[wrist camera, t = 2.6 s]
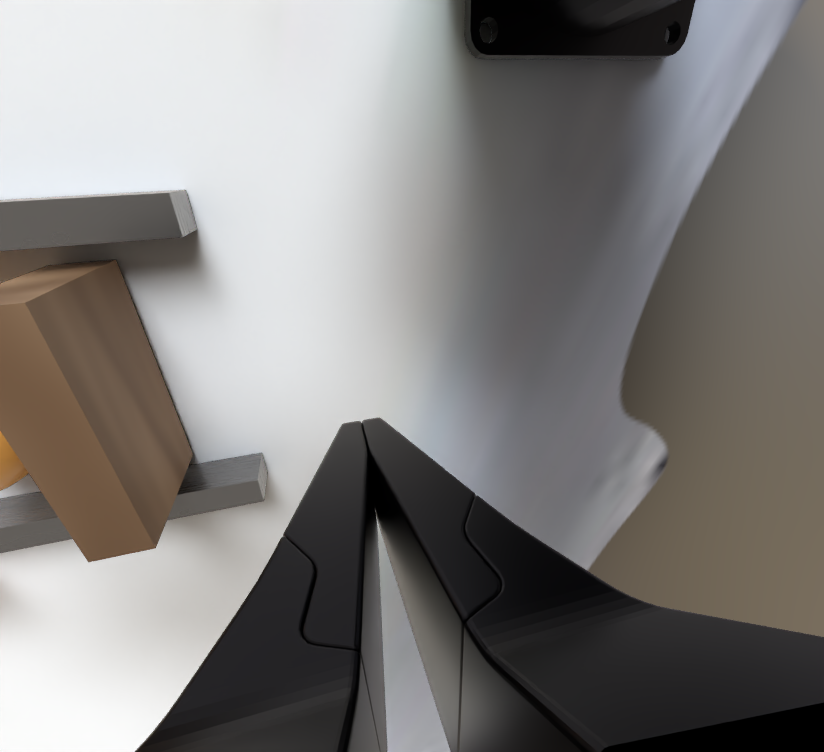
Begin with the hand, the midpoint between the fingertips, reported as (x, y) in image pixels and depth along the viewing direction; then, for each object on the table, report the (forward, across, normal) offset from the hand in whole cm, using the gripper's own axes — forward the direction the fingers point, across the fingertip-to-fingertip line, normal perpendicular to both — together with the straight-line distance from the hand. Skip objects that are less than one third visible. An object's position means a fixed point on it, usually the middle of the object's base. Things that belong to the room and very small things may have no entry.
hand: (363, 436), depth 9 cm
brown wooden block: (+6, +7, 0) cm, 9 cm away
